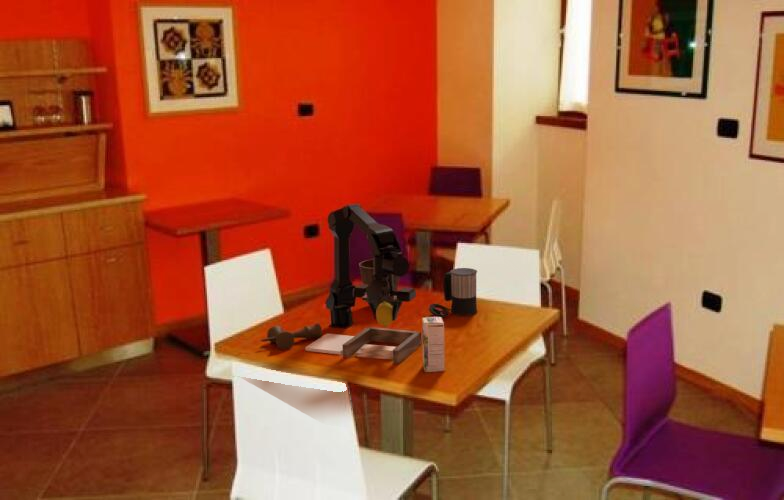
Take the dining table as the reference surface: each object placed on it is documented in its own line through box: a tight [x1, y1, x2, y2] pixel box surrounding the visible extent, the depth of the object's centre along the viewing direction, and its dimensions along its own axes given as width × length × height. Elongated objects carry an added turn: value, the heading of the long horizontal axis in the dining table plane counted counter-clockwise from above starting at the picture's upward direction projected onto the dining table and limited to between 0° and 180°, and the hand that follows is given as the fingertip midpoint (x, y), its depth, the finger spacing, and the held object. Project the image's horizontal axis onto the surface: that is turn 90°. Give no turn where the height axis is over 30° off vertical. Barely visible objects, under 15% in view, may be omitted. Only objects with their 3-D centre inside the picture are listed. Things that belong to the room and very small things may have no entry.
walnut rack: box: [342, 326, 423, 365], centre depth 245 cm, size 18×18×4 cm
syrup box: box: [421, 316, 446, 373], centre depth 228 cm, size 6×6×14 cm
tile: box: [304, 333, 355, 355], centre depth 253 cm, size 12×14×1 cm
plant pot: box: [358, 258, 400, 307], centre depth 290 cm, size 15×15×16 cm
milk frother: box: [428, 267, 478, 318], centre depth 278 cm, size 14×16×15 cm
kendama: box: [260, 322, 323, 351], centre depth 256 cm, size 6×10×20 cm
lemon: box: [376, 302, 394, 328], centre depth 246 cm, size 6×6×8 cm
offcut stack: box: [355, 343, 397, 361], centre depth 242 cm, size 12×4×3 cm, turn 70°
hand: (385, 319), depth 246 cm, fingers closed on lemon, 5 cm apart
